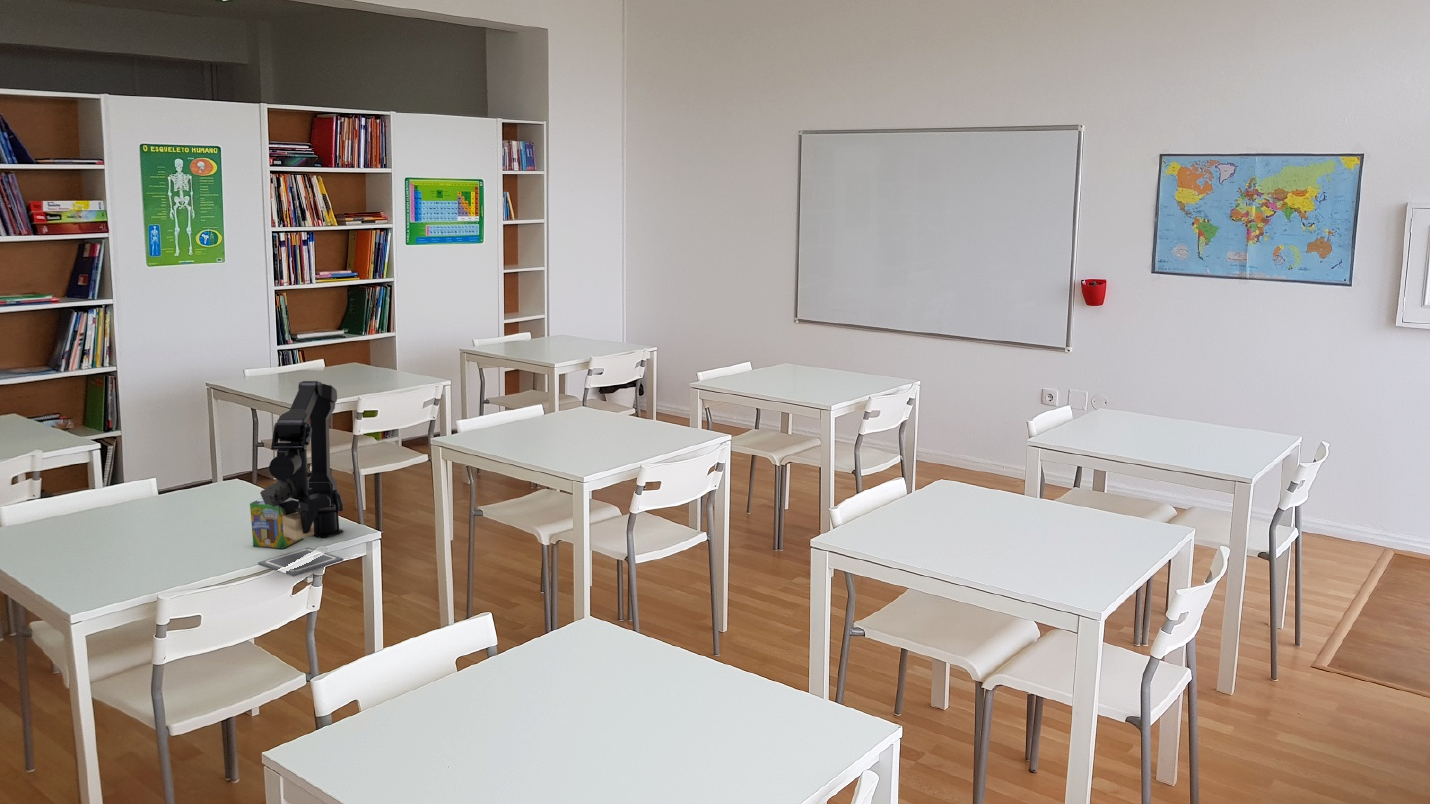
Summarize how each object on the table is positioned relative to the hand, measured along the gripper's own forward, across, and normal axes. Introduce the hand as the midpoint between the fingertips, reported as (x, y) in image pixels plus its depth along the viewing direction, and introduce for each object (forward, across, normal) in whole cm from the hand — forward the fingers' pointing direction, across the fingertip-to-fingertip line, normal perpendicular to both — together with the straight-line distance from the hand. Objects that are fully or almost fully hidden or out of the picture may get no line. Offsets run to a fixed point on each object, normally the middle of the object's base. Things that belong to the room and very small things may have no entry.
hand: (299, 531), depth 269 cm
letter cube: (+1, 0, 0) cm, 1 cm away
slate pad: (+8, 0, 0) cm, 8 cm away
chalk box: (+8, -18, +6) cm, 21 cm away
